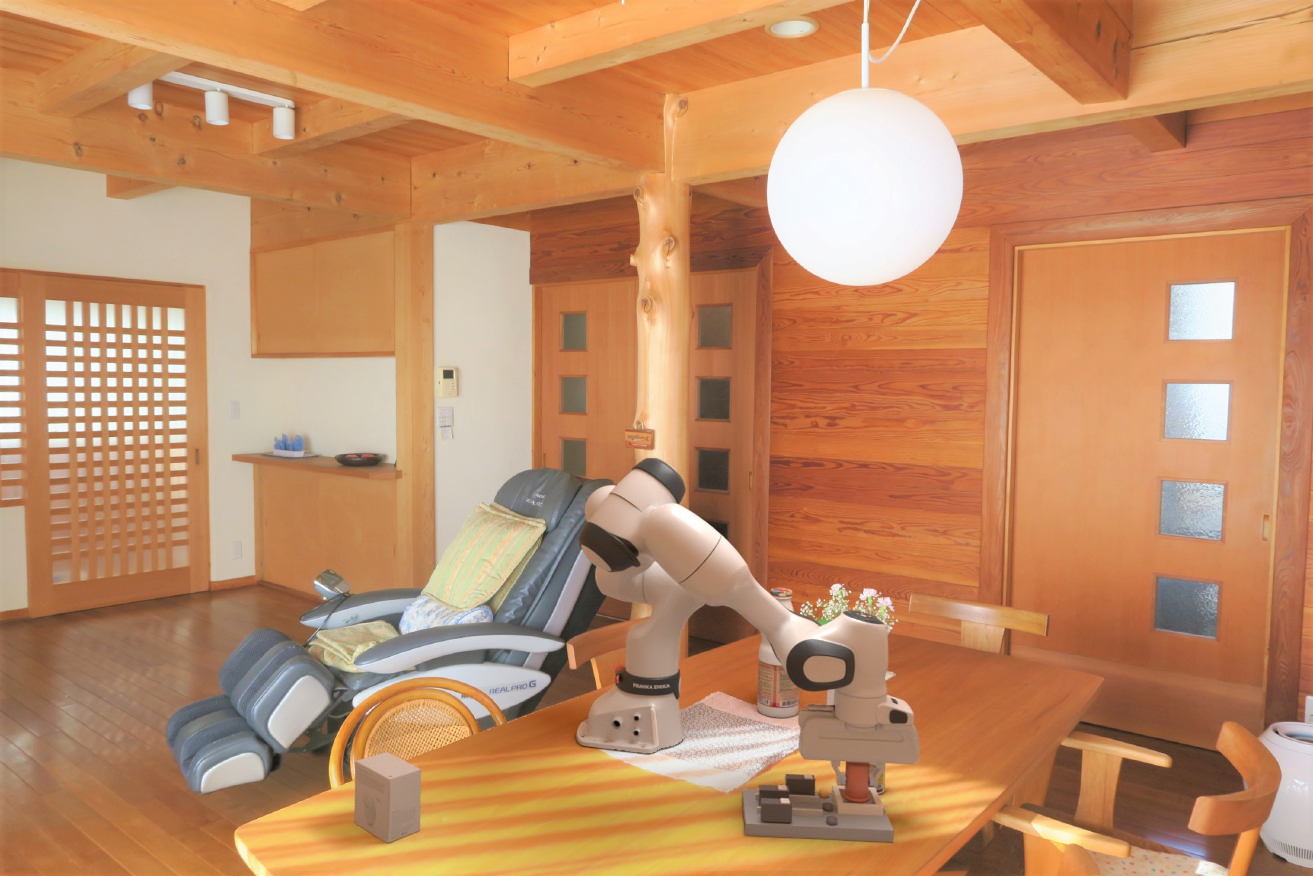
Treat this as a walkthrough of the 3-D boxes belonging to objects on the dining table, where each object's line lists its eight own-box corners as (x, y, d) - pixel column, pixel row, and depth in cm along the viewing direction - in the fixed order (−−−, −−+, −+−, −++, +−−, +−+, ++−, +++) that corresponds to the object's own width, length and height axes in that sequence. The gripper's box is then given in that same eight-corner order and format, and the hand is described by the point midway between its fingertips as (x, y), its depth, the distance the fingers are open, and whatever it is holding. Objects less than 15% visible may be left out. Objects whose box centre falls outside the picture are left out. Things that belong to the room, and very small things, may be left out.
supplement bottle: (865, 782, 172) (867, 738, 172) (888, 789, 170) (890, 744, 169) (853, 790, 169) (855, 745, 168) (877, 798, 166) (879, 752, 165)
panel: (745, 835, 151) (746, 814, 151) (742, 799, 164) (742, 780, 164) (893, 842, 150) (894, 821, 150) (878, 805, 163) (878, 786, 162)
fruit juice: (751, 714, 206) (755, 591, 205) (763, 701, 215) (767, 583, 213) (792, 721, 203) (796, 596, 201) (803, 708, 211) (807, 588, 209)
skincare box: (422, 830, 150) (422, 768, 150) (387, 844, 145) (387, 780, 145) (387, 809, 157) (387, 749, 157) (352, 822, 152) (353, 760, 152)
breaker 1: (759, 807, 156) (759, 788, 156) (758, 801, 158) (759, 783, 158) (788, 808, 156) (789, 790, 156) (787, 803, 158) (788, 785, 158)
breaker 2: (761, 821, 151) (761, 802, 151) (760, 815, 153) (760, 796, 153) (791, 822, 151) (792, 803, 151) (790, 816, 153) (791, 798, 153)
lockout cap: (844, 802, 156) (846, 768, 156) (840, 790, 161) (842, 757, 160) (872, 803, 156) (873, 769, 156) (867, 791, 160) (868, 758, 160)
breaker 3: (785, 795, 161) (786, 777, 161) (784, 790, 163) (785, 772, 163) (814, 796, 161) (815, 778, 160) (813, 791, 163) (813, 774, 162)
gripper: (800, 710, 155) (797, 790, 156) (923, 715, 154) (920, 796, 155) (797, 697, 161) (794, 774, 162) (915, 702, 160) (911, 780, 161)
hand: (856, 785), depth 158 cm, fingers closed on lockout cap, 4 cm apart
